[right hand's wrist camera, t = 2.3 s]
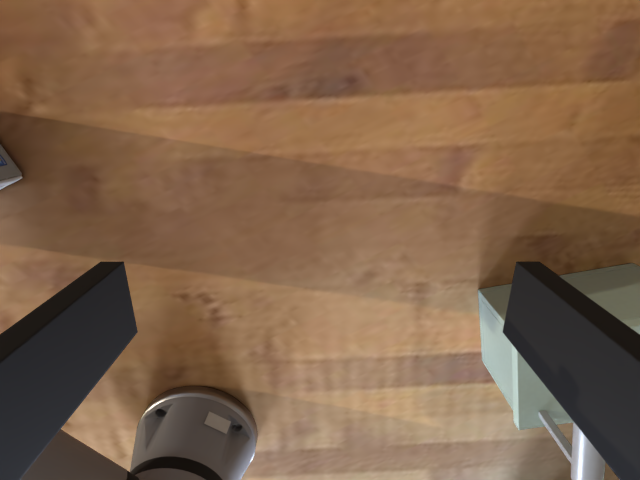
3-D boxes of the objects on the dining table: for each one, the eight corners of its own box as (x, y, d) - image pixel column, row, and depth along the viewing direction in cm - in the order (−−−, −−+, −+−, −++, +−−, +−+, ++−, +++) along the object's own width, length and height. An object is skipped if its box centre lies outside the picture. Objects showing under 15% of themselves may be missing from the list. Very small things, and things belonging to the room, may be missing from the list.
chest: (482, 360, 46) (518, 420, 37) (477, 289, 42) (517, 336, 34) (625, 338, 45) (698, 394, 36) (633, 262, 41) (715, 305, 33)
